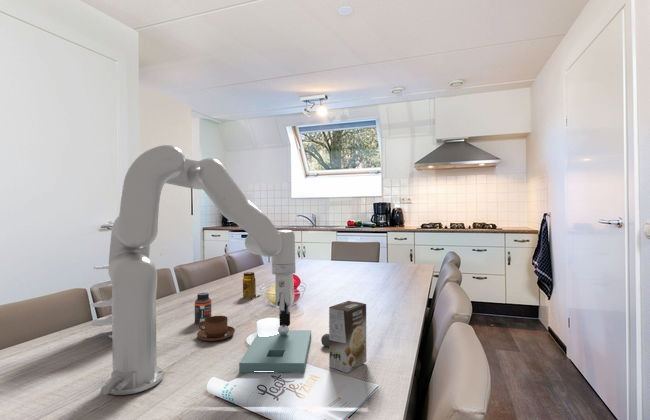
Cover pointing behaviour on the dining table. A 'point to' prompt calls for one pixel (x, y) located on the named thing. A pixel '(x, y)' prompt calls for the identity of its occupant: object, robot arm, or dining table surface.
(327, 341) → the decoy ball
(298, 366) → the grey-green flat board
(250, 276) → the condiment
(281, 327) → the ball
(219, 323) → the cup and saucer
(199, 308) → the supplement bottle
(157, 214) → the robot arm
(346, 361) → the coffee box
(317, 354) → the dining table surface
